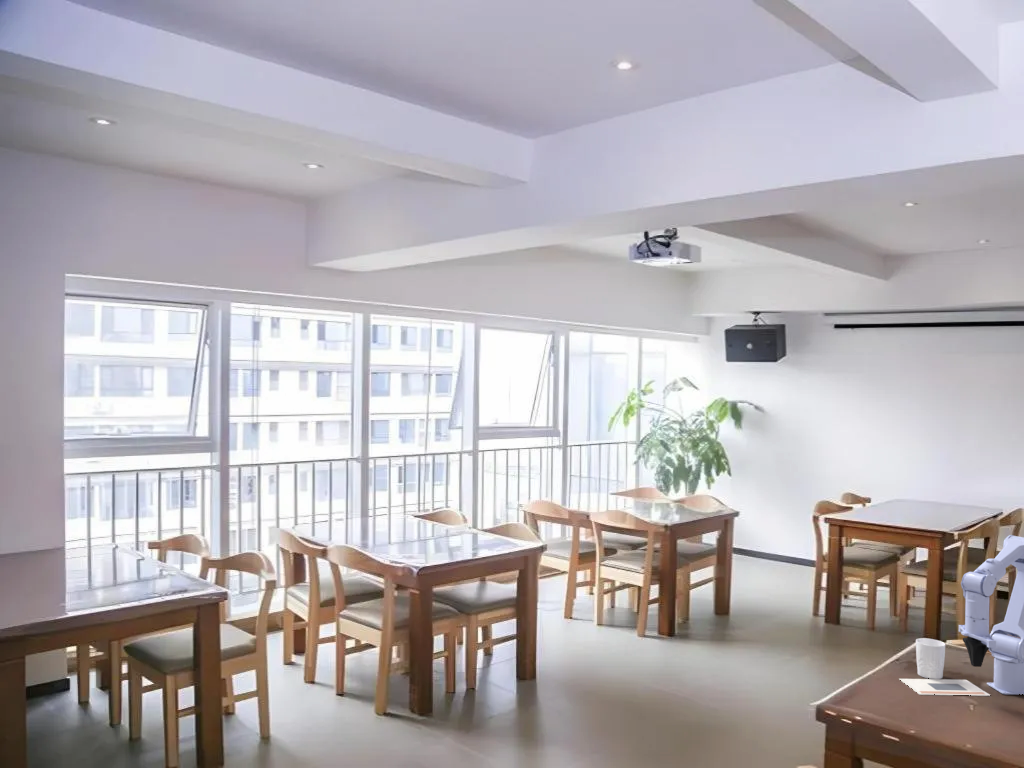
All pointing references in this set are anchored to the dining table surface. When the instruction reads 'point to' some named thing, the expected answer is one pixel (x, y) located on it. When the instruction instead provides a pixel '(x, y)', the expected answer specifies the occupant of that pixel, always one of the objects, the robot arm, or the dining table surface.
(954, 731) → the dining table surface
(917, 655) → the white cup
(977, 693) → the menu card
